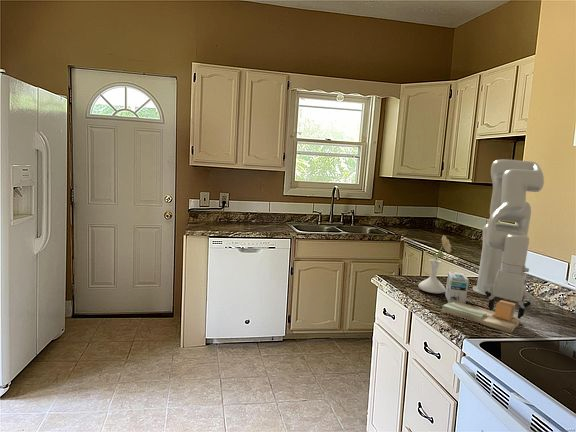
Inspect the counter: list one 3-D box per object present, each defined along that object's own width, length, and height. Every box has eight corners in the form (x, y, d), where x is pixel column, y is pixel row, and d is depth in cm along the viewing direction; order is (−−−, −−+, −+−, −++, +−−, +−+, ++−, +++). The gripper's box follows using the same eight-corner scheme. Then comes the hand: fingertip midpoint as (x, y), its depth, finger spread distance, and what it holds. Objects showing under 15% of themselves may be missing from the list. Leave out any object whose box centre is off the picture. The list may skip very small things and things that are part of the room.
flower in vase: (432, 296, 183) (440, 238, 179) (412, 288, 192) (419, 232, 189) (453, 294, 189) (461, 237, 186) (432, 286, 199) (440, 232, 196)
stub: (498, 312, 164) (500, 300, 163) (513, 316, 161) (515, 303, 160) (494, 316, 159) (496, 303, 159) (509, 320, 156) (511, 307, 156)
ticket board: (454, 304, 175) (455, 298, 175) (520, 322, 160) (521, 316, 160) (441, 312, 164) (442, 305, 164) (510, 332, 149) (511, 325, 149)
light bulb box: (465, 305, 175) (469, 279, 174) (448, 303, 176) (451, 277, 175) (460, 297, 185) (464, 272, 184) (444, 295, 187) (447, 270, 185)
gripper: (541, 272, 155) (533, 318, 157) (490, 261, 166) (483, 305, 168) (537, 275, 149) (529, 323, 152) (484, 264, 160) (477, 309, 162)
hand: (505, 313), depth 160 cm, fingers open, 9 cm apart
